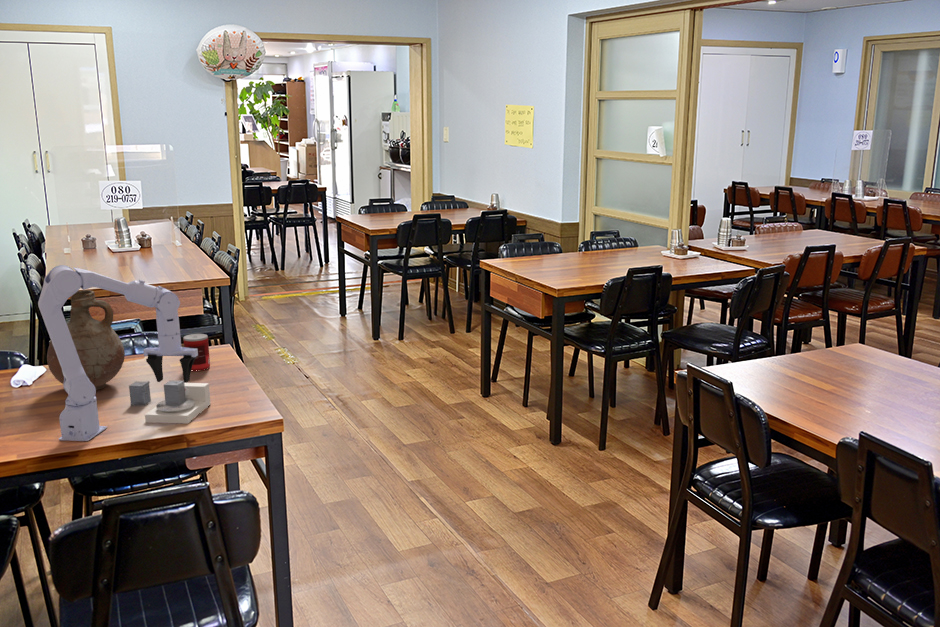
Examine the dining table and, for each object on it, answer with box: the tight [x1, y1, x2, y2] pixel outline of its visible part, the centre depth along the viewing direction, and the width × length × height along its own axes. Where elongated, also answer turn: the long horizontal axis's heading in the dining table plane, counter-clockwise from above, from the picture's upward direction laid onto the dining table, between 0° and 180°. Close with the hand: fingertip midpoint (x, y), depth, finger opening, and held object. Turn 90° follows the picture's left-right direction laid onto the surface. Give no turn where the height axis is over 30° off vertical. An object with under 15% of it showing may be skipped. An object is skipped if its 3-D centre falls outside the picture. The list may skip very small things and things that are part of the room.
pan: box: [155, 398, 195, 412], centre depth 220 cm, size 10×10×1 cm
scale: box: [144, 382, 211, 424], centre depth 221 cm, size 15×12×6 cm
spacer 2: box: [163, 379, 186, 406], centre depth 220 cm, size 4×4×6 cm
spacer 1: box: [128, 380, 152, 407], centre depth 230 cm, size 4×4×6 cm
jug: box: [46, 289, 126, 391], centre depth 242 cm, size 22×22×30 cm
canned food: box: [182, 333, 211, 372], centre depth 263 cm, size 8×8×11 cm
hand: (173, 381), depth 219 cm, fingers open, 7 cm apart
